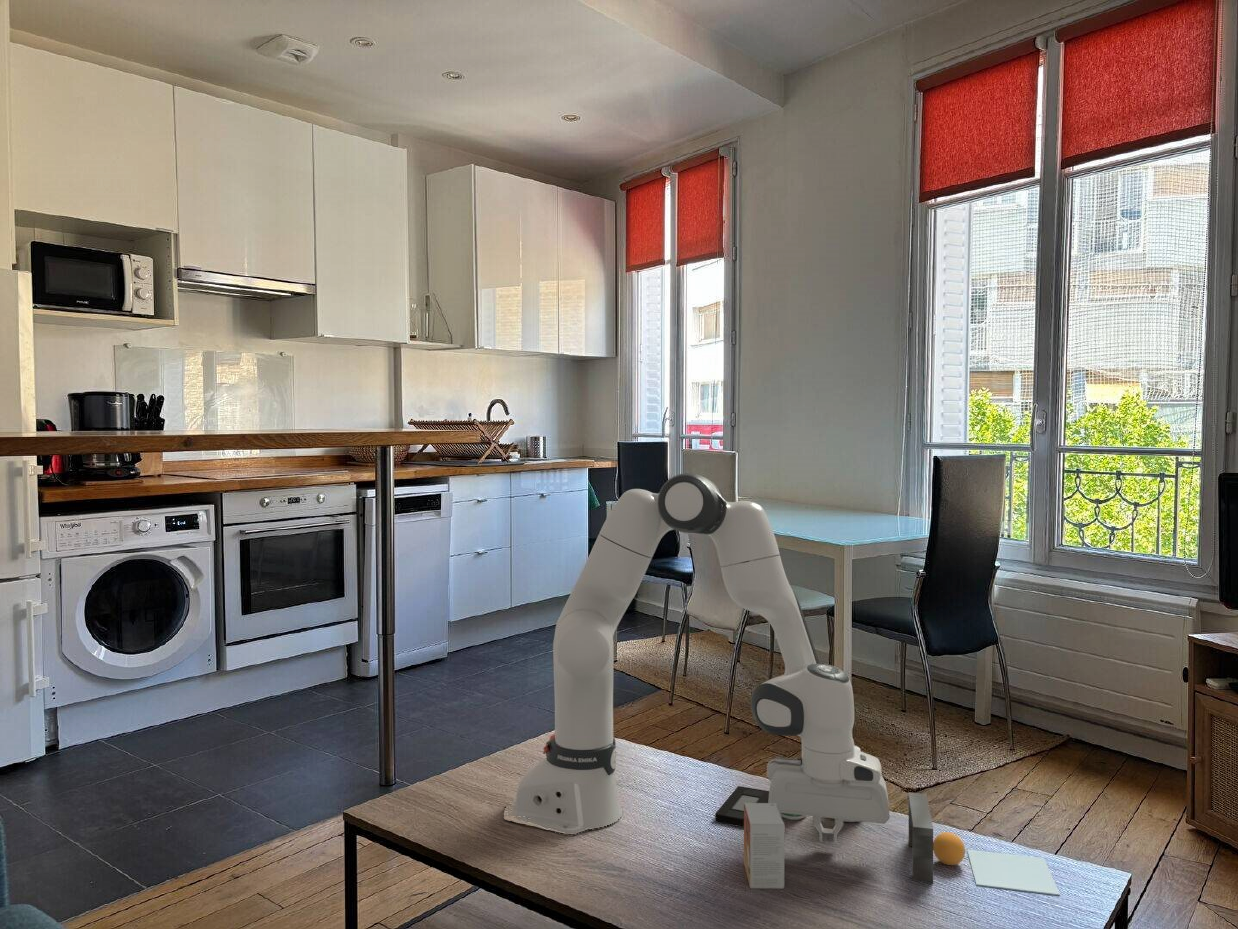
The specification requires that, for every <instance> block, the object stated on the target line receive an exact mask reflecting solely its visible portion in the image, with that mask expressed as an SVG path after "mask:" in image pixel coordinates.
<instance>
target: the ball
mask: <svg viewBox="0 0 1238 929" xmlns="http://www.w3.org/2000/svg"><path fill="white" fill-rule="evenodd" d="M933 854H934V856H935V857H936V858H937V860H939V861H940V862H941V863H942V864H944V865H948V866H956V865H958V864H961V862H962V861H963V860H964V858H965V855H966V848H965V844H964V842H963V840H962V839H961V838H960V837H959V836H958V835H957V834H955V833H953V832H948V831H947V832H945V831H944V832H941V833H939V834H938V835H936V836H935V838H934V839H933Z"/></svg>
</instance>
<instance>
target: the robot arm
mask: <svg viewBox="0 0 1238 929" xmlns="http://www.w3.org/2000/svg"><path fill="white" fill-rule="evenodd" d="M669 531H677V532H680V533H683V534H687V535H696V534H699V535H707V536H708V537H709V538H711V540H712V541H713V543H714V546H715V548H716V553H717V556H718V560H719V561H718V563H719V566H720V572H721V576H722V580H723V583H724V587H725V589H726V592H727V594H728V595H729V598H730V599H731V601H733V602H734V604H736V605H737V606H739V607H740V608H742V609H744V610H746V611H749V612H751V613H755V614H757V615H760V616H761V617H763V618H764V619H765V620H766V621H767V622H768V623H769V624H770V626H771V628H772V630H773V631H774V635H775V639H776V641H777V644H778V648H779V650H780V653H781V657H782V660H783V663H784V668H785V669H784V674H781V675H779V676H775V677H772V678H770V679H768V680H766V681H764V682H762V683H761V684H759V685H758V686H756V687H755V689H754V690H753V691H752V694H751V698H750V711H751V714H752V717H753V720H754V721H755V723H756V725H758V727H759V728H760V729H762V731H763V732H765V733H767V734H769V735H774V736H784V737H788V736H789V737H791V736H793V737H794V736H798V737H799V738H800V739H801V758H798V757H797V758H796V757H787V758H786V757H783V756H776V757H775V758H772V759H771V760H769V761H768V763H767V765H766V776H767V778H768V780H769V781H770V785H769V789H768V791H769V800H768V803H776V804H777V806H778V809H779V812H780V813H788V814H797V815H806V816H808V817H812V824H813V825H814V826H815V828H816V830H817V832H818V833H819V835H818V837H819V839H818V840H819V842H821V843H822V842H823V843H830V844H831V843H832V844H837V843H838V834H839V833H840V831H841V830H842V828H843V827H844V821H843V819H844V820H853V821H858V822H865V823H875V824H883V825H884V824H886V823H887V822H888V821H889V820H890V803H889V797H888V796H889V795H888V790H887V789H888V788H887V784H886V781H885V779H884V777H883V775H882V764H881V762H880V760H879V758H878V757H876V756H873V755H872V754H869V753H866V752H863V751H861V750H860V751H858V750H856V749H854V745H855V741H854V738H853V737H854V736H853V727H854V724H855V703H854V700H855V699H854V698H855V697H854V691H853V685H852V683H851V679H850V677H849V675H848V674H847V673H846V671H843V670H842V669H841V668H839V667H836V666H835V665H831V664H825V663H821V662H820V660H819V657H818V654H817V652H816V649H815V645H814V642H813V639H812V637H811V633H810V630H809V626H808V624H807V621H806V618H805V615H804V612H803V609H802V607H801V604H800V601H799V600H798V597H797V595H796V593H795V591H794V590H793V588H792V586H791V585H790V582H789V580H788V577H787V575H786V571H785V569H784V565H783V562H782V558H781V555H780V550H779V546H778V542H777V539H776V536H775V533H774V530H773V527H772V525H771V522H770V520H769V517H768V515H767V513H766V510H765V509H764V508H763V506H762V505H760V504H759V503H757V502H754V501H750V500H738V501H737V500H736V501H727V500H726V499H724V496H723V493H722V492H721V490H720V489H719V487H718V486H717V485H716V484H715V483H714V482H713V481H712V480H710V479H709V478H708V477H705V476H703V475H701V474H695V473H692V472H690V473H689V472H688V473H687V472H685V473H684V472H683V473H680V474H676V475H674V476H672V477H670V478H669V479H668V480H666V482H664V484H663V485H662V486H661V488H660V490H659V492H658V493H655V492H651V491H649V490H647V489H641V488H632V489H629V490H626V491H625V492H624V493H622V494H621V496H620V497H619V498H618V500H617V501H616V503H615V504H614V506H613V508H612V509H611V511H610V512H609V513H608V515H607V517H606V519H605V521H604V522H603V525H602V526H601V528H600V531H599V533H598V535H597V537H596V540H595V542H594V545H593V546H592V548H591V551H590V554H588V557H587V559H586V562H585V563H584V565H583V569H582V571H581V572H580V574H579V576H578V578H577V580H576V583H575V585H574V586H573V588H572V591H571V593H570V594H569V596H568V598H567V600H566V603H565V605H564V607H563V609H562V611H561V613H560V615H559V617H558V619H557V621H556V624H555V630H554V635H553V636H554V637H553V642H552V652H553V653H552V654H553V658H552V659H553V687H554V688H553V690H554V691H553V693H554V732H553V734H552V735H551V736H550V737H549V740H548V741H546V743H545V746H543V749H542V750H543V752H542V754H543V755H545V757H544V759H542V760H541V761H539V762H538V763H537V764H535V765H534V766H533V767H532V768H531V769H529V770H528V771H526V773H524V775H523V776H522V777H521V779H520V780H519V782H518V785H517V787H516V793H515V796H516V798H515V801H513V802H512V801H511V802H510V803H515V806H514V807H511V808H513V811H514V812H511V813H509V814H508V815H505V816H521V817H514V818H516V819H518V820H523V821H526V822H531V823H534V824H537V825H540V826H542V827H545V828H551V829H554V830H557V831H561V832H565V833H568V834H571V833H576V832H579V831H582V830H584V829H586V828H598V829H600V828H599V827H602V828H605V827H604V826H606V827H607V825H609V826H611V825H613V824H615V823H616V822H618V821H619V820H620V819H621V818H622V817H623V813H622V812H623V808H622V806H621V801H620V797H619V792H618V787H617V781H616V780H617V779H616V772H615V771H616V767H617V745H616V739H615V737H614V655H615V654H614V650H615V649H614V648H615V647H614V646H615V645H614V635H615V632H616V630H617V627H618V626H619V624H620V622H621V620H622V619H623V616H624V615H625V613H626V611H627V610H628V607H629V606H630V604H631V603H632V601H633V599H634V598H635V596H636V594H637V593H638V590H639V588H640V585H641V583H642V581H643V579H644V577H645V576H646V575H645V574H646V573H647V570H648V568H649V565H650V563H651V561H652V559H653V557H654V554H655V553H656V550H657V548H658V545H659V544H660V541H661V539H662V538H663V537H664V536H665V535H666V534H667V533H668V532H669ZM801 765H802V766H801ZM508 808H509V807H508ZM523 816H525V817H523ZM620 817H621V818H620ZM528 818H530V819H528ZM822 818H826V819H834V824H835V825H834V827H833V828H828V827H827V828H825V827H824V825H823V824H822V823H821V822H822ZM618 819H619V820H618ZM614 822H615V823H614ZM612 823H613V824H612ZM610 824H611V825H610Z"/></svg>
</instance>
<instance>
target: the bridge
mask: <svg viewBox="0 0 1238 929" xmlns="http://www.w3.org/2000/svg"><path fill="white" fill-rule="evenodd" d="M933 826H934V825H933V820H932V815H931V809H930V804H929V800H928V794H927V793H919V792H917V793H916V792H908V847H909V846H913V847H912V880H914V882H921V881H923V882H922V883H929V882H932V883H931V884H934V851H933V842H934V827H933Z"/></svg>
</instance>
